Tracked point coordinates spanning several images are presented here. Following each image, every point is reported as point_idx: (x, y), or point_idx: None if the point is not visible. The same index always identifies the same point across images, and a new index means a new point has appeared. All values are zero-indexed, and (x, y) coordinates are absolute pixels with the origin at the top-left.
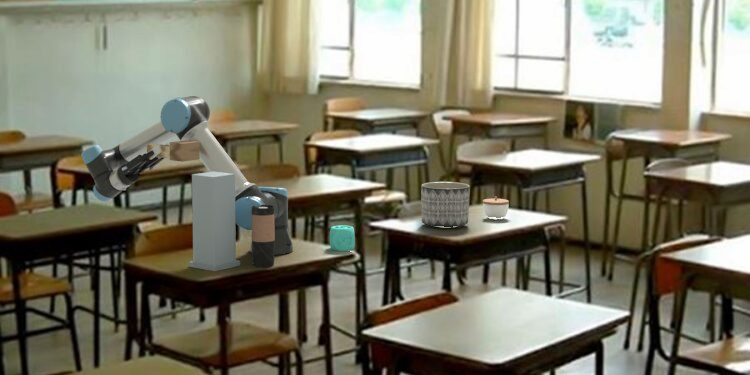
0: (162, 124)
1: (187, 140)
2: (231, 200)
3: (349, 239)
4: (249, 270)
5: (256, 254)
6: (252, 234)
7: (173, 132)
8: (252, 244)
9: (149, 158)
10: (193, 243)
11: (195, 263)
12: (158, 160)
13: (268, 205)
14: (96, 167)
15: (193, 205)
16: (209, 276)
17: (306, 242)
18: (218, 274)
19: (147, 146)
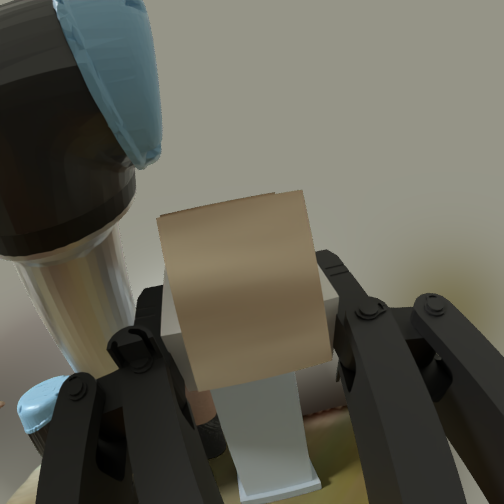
0: (152, 69)
1: (162, 215)
2: None
3: None
4: None
5: (221, 428)
6: (211, 406)
7: (156, 156)
8: (216, 422)
9: (331, 349)
10: (307, 453)
11: (315, 471)
12: (128, 476)
13: None
14: None
15: (294, 378)
16: (328, 425)
17: (22, 486)
18: (309, 431)
19: (303, 223)
